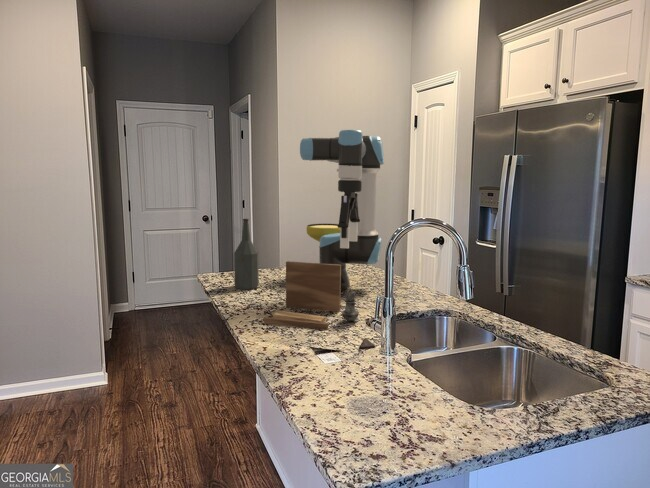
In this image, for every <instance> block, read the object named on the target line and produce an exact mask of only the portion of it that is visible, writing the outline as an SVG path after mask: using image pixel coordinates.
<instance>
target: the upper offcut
mask: <svg viewBox="0 0 650 488" xmlns="http://www.w3.org/2000/svg"><path fill="white" fill-rule="evenodd" d="M272 316H273V317H272V318H282V319H292V320H303V321H313V322H323V323H327V316H322V315H315V314H309V313H301V312H300V313H299V312H293V311H284V310H278V311H276V312H275V313H273V315H272Z"/></svg>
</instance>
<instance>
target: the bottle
mask: <svg viewBox="0 0 650 488" xmlns="http://www.w3.org/2000/svg"><path fill="white" fill-rule="evenodd" d="M249 221H250V220H249V218H243V219H242V230H241V231H242V233H241V240H240V242H239V244H238V246H237V247H236V249H235V251H234V253H233V258H234V260H233V263H234V265H233V266H234V270H233V271H234V287H235V289H236V290H240V291H251V290H252V291H253V290H255V289H258V287H259V286H260V285H259V283H260V277H259V275H260V274H259V251H258V250H257V247H256V246H255V245H254V243H253V242H252V240H251V232H250V223H249Z"/></svg>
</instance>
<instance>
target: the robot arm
mask: <svg viewBox="0 0 650 488" xmlns="http://www.w3.org/2000/svg"><path fill="white" fill-rule="evenodd" d="M383 147H384V146H383V142H382V139H381V136H377V135H363V132H362V130H359V129H342V130H340V131H339V132H338V136H336V137H329V138H328V137H317V138H316V137H305V138H302V139H301V140H300V144H299V154H300V155H299V156H300V158H301V159H302V160H303V161H327V162H330V163H337V164H338V168H337V169H336V172H337V173H338V179H339V180H338V181H337V183H338V184H337V190H338V192H340V193H344V194H343V195H341V203H340V210H339V219H338V223H337V224H338V228H340V233H334V234H328V235H324V236H322V237H321V238H320V242H319V246H318V247H319V263H321V264H337V265H341V290H346V289H350V288H351V287H350V286H351V284H350V283H351V282H350V277H349V275H348V272H347V271H348V270H347V264H348V265H349V264H350V265H354V264H355V265H366V266H367V265H377V264H378V262H379V259H380V254H381V249H382V240H383V239H382V238H381V236H380V237H379V232H378V231H377V230H376V205H377V173H378V172H379V171H380V170H381V166H382V165H385V161H384V159H385V158H384V148H383Z"/></svg>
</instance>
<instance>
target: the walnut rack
mask: <svg viewBox="0 0 650 488" xmlns="http://www.w3.org/2000/svg"><path fill="white" fill-rule="evenodd" d="M341 294H342V293H341V265H337V264H321V263H320V262H305V261H304V262H303V261H289V260H287V261H286V262H285V308H292V309H303V310H312V311H313V310H315V311H317V310H318V311H327V312H335V313H336V312H337V313H340V312H341V307H342V306H341V303H342V301H341V300H342V299H341V297H342V296H341ZM263 324H268V325H278V326H285V327H286V326H288V327H299V328H307V329H308V328H309V329H319V330H327V331H328V329H329V322H326V323H323V322H313V321H303V320H292V319H282V318H273V317H269V316H265V317H263Z"/></svg>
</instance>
